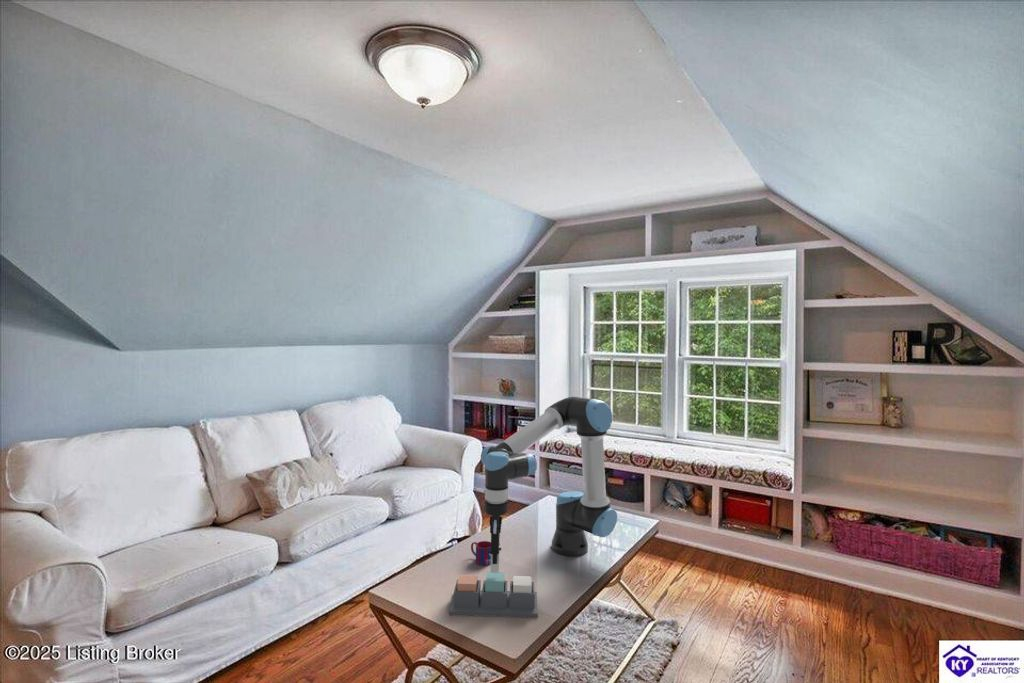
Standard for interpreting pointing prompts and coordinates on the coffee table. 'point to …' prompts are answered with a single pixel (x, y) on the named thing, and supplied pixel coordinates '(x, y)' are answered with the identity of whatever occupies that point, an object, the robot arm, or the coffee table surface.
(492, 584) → the teal key
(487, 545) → the mug
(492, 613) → the console
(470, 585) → the terracotta key
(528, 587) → the ivory key
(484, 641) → the coffee table surface
